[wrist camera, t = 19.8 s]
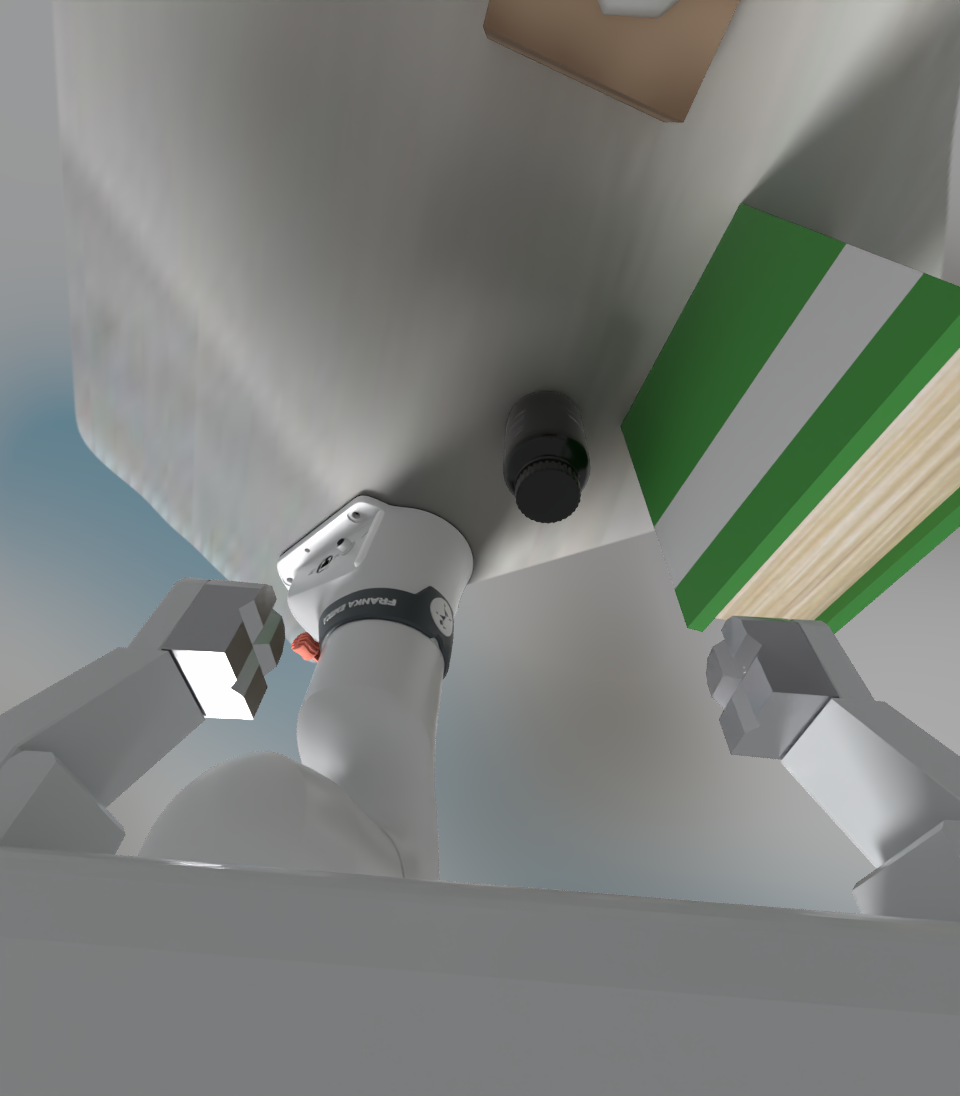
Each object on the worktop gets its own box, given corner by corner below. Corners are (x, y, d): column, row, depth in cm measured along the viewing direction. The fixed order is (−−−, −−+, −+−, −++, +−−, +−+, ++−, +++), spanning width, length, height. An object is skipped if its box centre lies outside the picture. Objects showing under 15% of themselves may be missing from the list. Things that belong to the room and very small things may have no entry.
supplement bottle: (595, 403, 45) (614, 476, 36) (561, 467, 50) (571, 546, 40) (522, 376, 44) (523, 443, 35) (494, 443, 48) (488, 519, 39)
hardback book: (694, 450, 48) (804, 659, 29) (620, 426, 47) (687, 627, 28) (832, 241, 37) (1147, 364, 18) (740, 203, 36) (978, 293, 17)
